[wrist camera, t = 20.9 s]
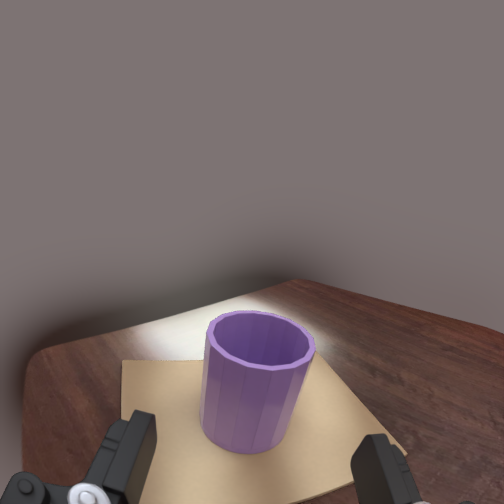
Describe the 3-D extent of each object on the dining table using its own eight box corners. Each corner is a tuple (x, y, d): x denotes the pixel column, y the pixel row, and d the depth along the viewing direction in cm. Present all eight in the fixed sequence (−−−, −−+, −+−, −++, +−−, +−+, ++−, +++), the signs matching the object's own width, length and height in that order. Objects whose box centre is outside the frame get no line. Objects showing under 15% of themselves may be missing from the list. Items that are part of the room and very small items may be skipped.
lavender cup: (210, 460, 16) (222, 374, 13) (192, 395, 22) (198, 310, 19) (300, 444, 18) (335, 361, 16) (268, 389, 24) (288, 309, 22)
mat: (131, 526, 10) (129, 523, 9) (122, 364, 24) (122, 359, 24) (404, 457, 17) (408, 453, 16) (314, 354, 31) (316, 350, 31)
